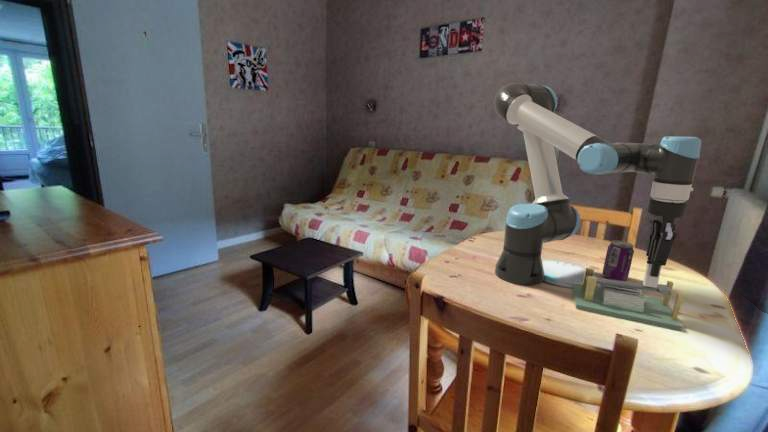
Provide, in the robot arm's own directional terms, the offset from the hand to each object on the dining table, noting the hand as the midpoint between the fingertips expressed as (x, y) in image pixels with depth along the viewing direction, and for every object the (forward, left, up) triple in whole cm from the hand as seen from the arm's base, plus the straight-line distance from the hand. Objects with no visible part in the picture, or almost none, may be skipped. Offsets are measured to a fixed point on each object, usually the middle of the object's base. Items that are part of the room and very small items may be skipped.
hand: (649, 285), depth 92 cm
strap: (-5, 0, -2) cm, 5 cm away
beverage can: (-4, +21, -8) cm, 23 cm away
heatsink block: (-6, 0, -6) cm, 9 cm away
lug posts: (-4, 0, -6) cm, 8 cm away
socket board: (-5, 0, -8) cm, 9 cm away
